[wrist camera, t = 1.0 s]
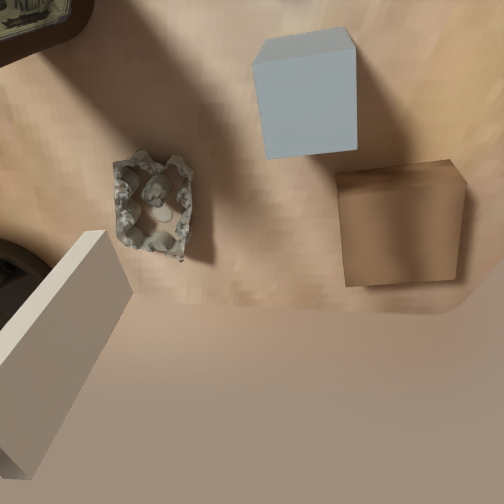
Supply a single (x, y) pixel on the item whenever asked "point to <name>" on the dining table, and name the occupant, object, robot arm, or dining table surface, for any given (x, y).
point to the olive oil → (39, 25)
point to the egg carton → (153, 196)
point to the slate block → (307, 93)
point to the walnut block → (401, 223)
